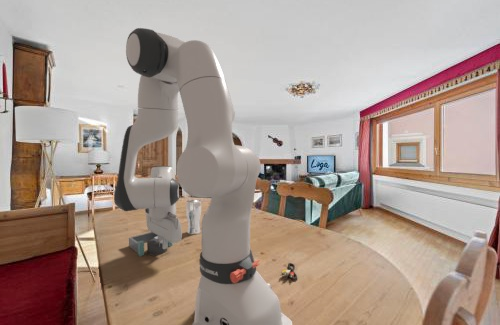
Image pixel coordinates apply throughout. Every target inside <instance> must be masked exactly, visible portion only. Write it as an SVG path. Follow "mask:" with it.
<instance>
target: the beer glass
mask: <svg viewBox="0 0 500 325" xmlns="http://www.w3.org/2000/svg"><path fill="white" fill-rule="evenodd" d="M201 201H202V200H200V199H189V200H187V201H186V206H185V211H186V214H185V215H186V219H187V232H186V233H187V234H188V235H198V234H200V233H202V229H201V227H200V226H201V225H200V223H201V216H202V202H201Z"/></svg>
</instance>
